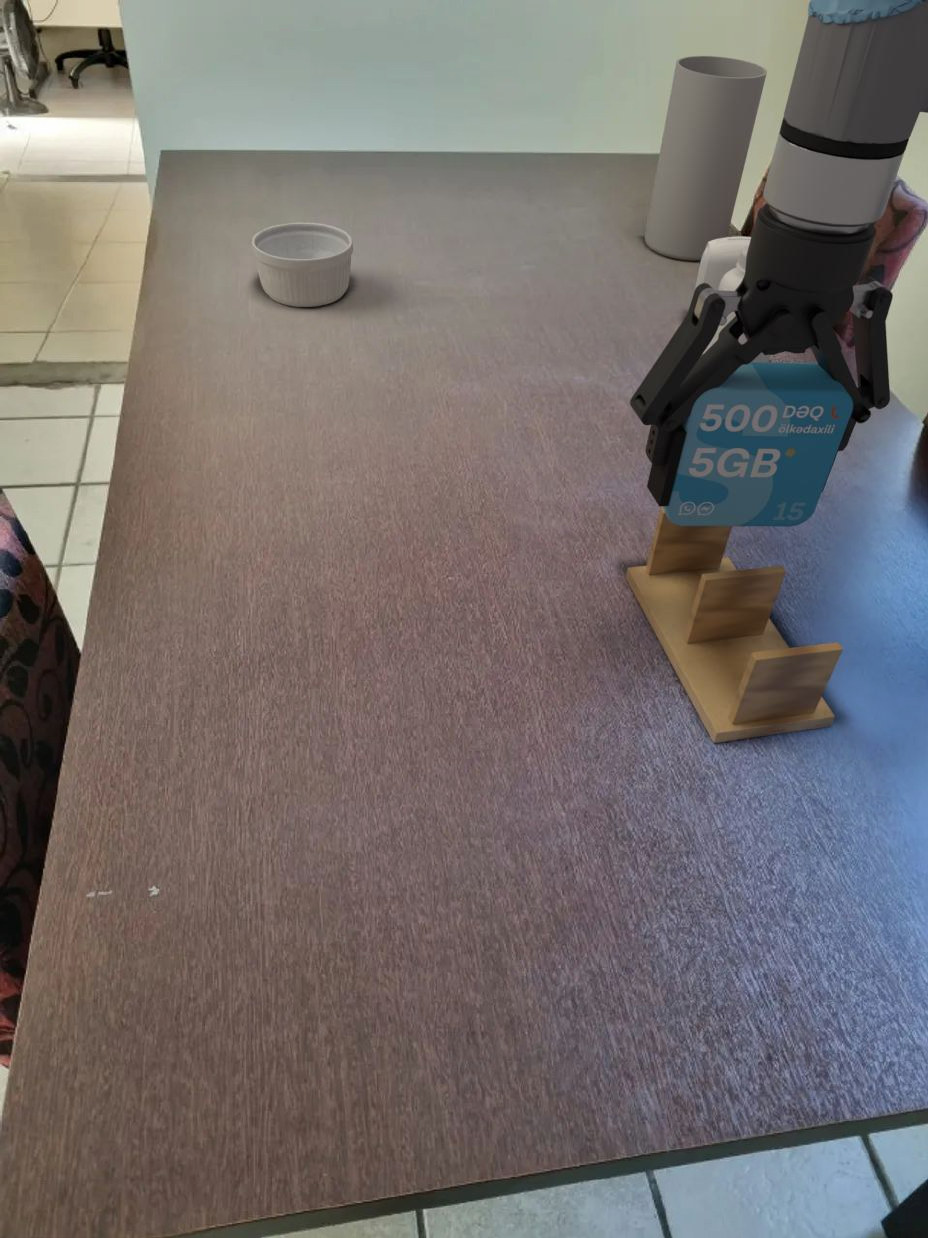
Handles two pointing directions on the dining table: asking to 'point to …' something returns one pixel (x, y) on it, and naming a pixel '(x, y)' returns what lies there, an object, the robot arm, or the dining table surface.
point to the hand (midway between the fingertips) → (735, 489)
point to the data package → (759, 447)
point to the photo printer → (720, 259)
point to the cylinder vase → (702, 153)
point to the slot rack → (729, 637)
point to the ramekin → (303, 263)
